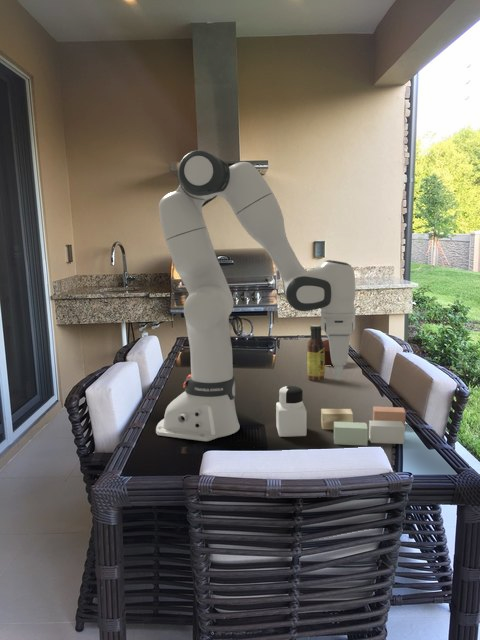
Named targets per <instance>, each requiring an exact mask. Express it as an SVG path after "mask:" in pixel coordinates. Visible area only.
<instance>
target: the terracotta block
mask: <svg viewBox="0 0 480 640" xmlns="http://www.w3.org/2000/svg"><path fill="white" fill-rule="evenodd" d="M372 420H373V421H402V423H403V425H404V426H405V427H406V410H405V408H404V407H400V406H399V407H397V406H396V407H395V406H394V407H393V406H372Z"/></svg>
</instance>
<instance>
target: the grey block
mask: <svg viewBox="0 0 480 640" xmlns="http://www.w3.org/2000/svg"><path fill="white" fill-rule="evenodd" d="M368 421H369V422H368V439H369V441H370V443H371V444H373V443H374V444H395V445H396V444H398V445H399V444H401V445H405V434H406V433H405V431H406V430H405V429H406V425H405V426H404V425H403V423H402V421H373V419H372V420H371V419H370V420H368Z"/></svg>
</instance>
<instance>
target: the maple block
mask: <svg viewBox="0 0 480 640" xmlns="http://www.w3.org/2000/svg"><path fill="white" fill-rule="evenodd" d="M320 414H321V415H320V424H321V425H320V426H321V429H322V430H334V422H354V414H353V411H352V408H321V409H320Z"/></svg>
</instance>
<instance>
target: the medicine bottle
mask: <svg viewBox="0 0 480 640" xmlns="http://www.w3.org/2000/svg"><path fill="white" fill-rule="evenodd" d="M278 395H279V397H278V398H279V399H278V400H279V401H277V402H276V404H275V410H276V412H275V419H276V421H275V422H276V423H275V424H276V429H277V433H278V437H279V438H281V437H282V438H283V437H284V438H287V437H306V436H307V422H308V421H307V417H308V416H307V415H308V413H307V411H308V410H307V409H306V407H305V405H304V403H303V389H302V388H301V387H299V386H295V385H285V386H282V387H281V388H280V389H279V393H278Z"/></svg>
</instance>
